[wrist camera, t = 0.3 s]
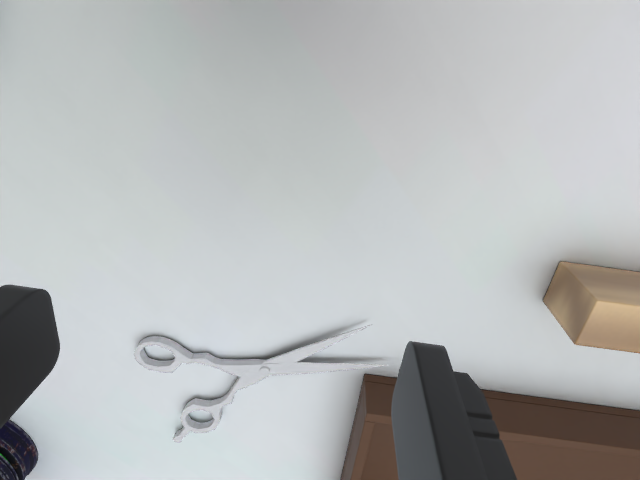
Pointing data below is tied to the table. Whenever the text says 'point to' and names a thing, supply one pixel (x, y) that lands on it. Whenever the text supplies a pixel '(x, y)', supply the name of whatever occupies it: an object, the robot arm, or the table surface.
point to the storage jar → (16, 453)
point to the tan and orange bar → (597, 305)
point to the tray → (511, 437)
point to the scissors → (237, 373)
